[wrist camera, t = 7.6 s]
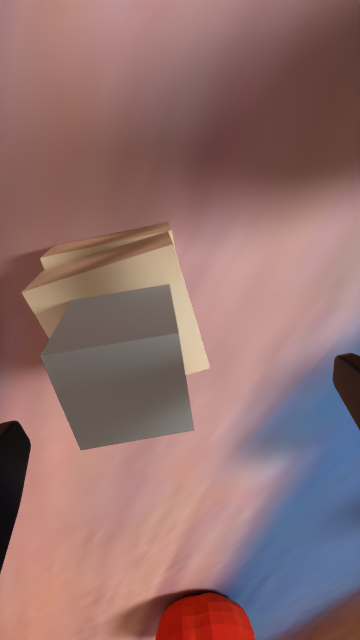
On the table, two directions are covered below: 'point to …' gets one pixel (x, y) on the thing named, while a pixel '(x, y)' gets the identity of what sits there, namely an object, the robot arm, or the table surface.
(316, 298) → the table surface
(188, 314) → the slab upper
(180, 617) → the tomato
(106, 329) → the cube
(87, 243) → the slab lower
